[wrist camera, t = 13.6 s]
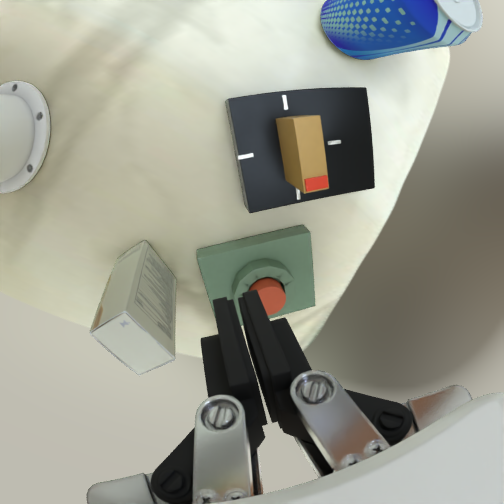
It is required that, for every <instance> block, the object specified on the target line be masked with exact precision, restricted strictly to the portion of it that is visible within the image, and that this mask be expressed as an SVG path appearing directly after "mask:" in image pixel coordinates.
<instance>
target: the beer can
mask: <svg viewBox="0 0 504 504" xmlns="http://www.w3.org/2000/svg"><path fill="white" fill-rule="evenodd" d="M482 20H483V17H482V11H481V7H480V4H479V1H478V0H327V1H326V2H325V3H324V5H323V7H322V9H321V24H322V27H323V29H324V32H325V34H326V35H327V37H328V38H329V40H330V41H331V42H332V43H333V44H334V45H335V46H336V47H337V48H338V49H339V50H340V51H342V52H343V53H345V54H347V55H349V56H351V57H353V58H356V59H361V60H370V59H375V58H379V57H384V56H388V55H393V54H399V53H404V52H410V51H416V50H422V49H429V48H437V47H446V46H455V45H459V44H462V43H463V42H464V41H466V39H467V38H468V37H469V36H470V34H471V33H472V32H477V31H478V30H480V28H481V26H482Z"/></svg>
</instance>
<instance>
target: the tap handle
mask: <svg viewBox="0 0 504 504" xmlns="http://www.w3.org/2000/svg"><path fill="white" fill-rule="evenodd" d="M276 124H277V130H278V136H279V141H280V147H281V154H282V160H283V166H284V172H285V179H286V181H287V182H289V183H290V184H291V185H293V186H294V187H296V188H297V189H299V190H300V191H301V192H303V193H304V194H305V193H310V192H315V191H319V190H324V189H329V184H328V174H327V165H326V156H325V148H324V140H323V133H322V126H321V119H320V115H302V116H291V117H283V118H277V119H276Z"/></svg>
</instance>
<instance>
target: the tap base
mask: <svg viewBox="0 0 504 504" xmlns="http://www.w3.org/2000/svg"><path fill="white" fill-rule="evenodd" d="M225 103H226V108H227V113H228V118H229V124H230V129H231V134H232V139H233V145H234V150H235V155H236V160H237V166H238V171H239V176H240V181H241V187H242V192H243V197H244V202H245V206H246V208H247V210H248V212H249V213H253V212H258V211H262V210H267V209H271V208H276V207H281V206H285V205H290V204H295V203H300V202H305V201H309V200H314V199H319V198H324V197H329V196H335V195H340V194H345V193H350V192H356V191H361V190H366V189H372V188H375V183H374V161H373V146H372V133H371V123H370V114H369V105H368V97H367V90H366V88H361V87H350V88H318V89H302V90H291V91H280V92H271V93H263V94H256V95H249V96H243V97H236V98H231V99H228V100H226V101H225ZM302 115H320V119H321V126H322V133H323V140H324V148H325V156H326V165H327V174H328V184H329V189H324V190H319V191H315V192H310V193H305V194H304V193H303V192H301V191H300V190H299V189H297V188H296V187H294V186H293V185H291V184H290V183H289V182H287V181H286V179H285V172H284V166H283V160H282V154H281V147H280V141H279V136H278V130H277V124H276V119H277V118H283V117H291V116H302Z"/></svg>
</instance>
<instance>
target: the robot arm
mask: <svg viewBox="0 0 504 504" xmlns="http://www.w3.org/2000/svg"><path fill="white" fill-rule="evenodd" d="M42 115H43V117H42ZM49 138H50V116H49V110H48V107H47V103H46V101H45V99H44V97H43V95H42V93H41V92H40V91H39V90H38V89H37V88H36V87H35V86H33V85H32V84H30V83H27V82H23V81H11V82H7V83H5V84H2V85H0V193H11V192H13V191H16V190H18V189H20V188H22V187H23V186H25V185H26V184H27V183H28V182H30V181H31V180H32V178H33V177H34V176H35V175H36V174H37V172H38V170H39V168H40V167H41V165H42V163H43V160H44V158H45V156H46V152H47V148H48V145H49ZM32 167H33V168H32ZM242 296H243V297H239V298H238V303H239V307H240V312H241V317H242V321H243V326H244V330H245V334H246V339H247V343H248V348H249V351H250V355H251V358H252V361H253V365H254V368H255V371H256V374H257V377H258V380H259V384H260V387H261V390H262V393H263V396H264V399H265V402H266V406H267V409H268V412H269V415H270V418H271V421H272V422H273V423H274V422H277V421H278V424H279V426H280V428H282V430H283V432H284V433H286V434H289V435H291V436H294V438H295V440H296V442H297V444H298V445H299V447H300V449H301V450H302V452H303V453H304V455H305V457H306V458H307V460H308V461H309V463H310V465H311V466H312V468H313V469H314V471H315V473H316V474H317V476H318V477H319V478H318V479H315V480H312V481H309V482H306V483H303V484H299V485H296V486H293V487H289V488H286V489H282V490H278V491H275V492H270V493H266V494H263V488H262V478H261V468H260V459H259V449H258V447H259V446H260V444H261V443H262V441H263V440H264V438H265V435H264V432H263V428H262V426H263V425H266V424H267V420H266V416H265V411H264V407H263V403H262V399H261V395H260V391H259V386H258V382H257V378H256V375H255V372H254V368H253V365H252V362H251V358H250V355H249V352H248V348H247V345H246V342H245V338H244V335H243V332H242V328H241V325H240V321H239V318H238V314H237V311H236V307H235V304H234V300H233V299H231V300H227V297H222V298H218V299H214V300H212V301H213V306H214V312H215V317H216V323H217V328H218V333H219V334H218V335H213V336H209V337H204V338H201V348H202V356H203V363H204V371H205V377H206V385H207V391H208V399H206V400H205V401H203V402H202V403H201V404H200V406H199V407H198V409H197V412H196V417H195V428H194V429H193V430H192V431H191V432H190V433H189V434H188V435H187V436H186V438H185V439H184V440H183V441H182V442H181V443H180V444H179V445H178V446H177V447H176V449H175V450H174V451H173V452H172V453H171V454H170V455H169V456H168V457H167V458H166V459H165V460H164V461H163V462H162V463H161V464H160V465H159V466H158V467H157V469H156V470H155V471H154V472H153V473H150V474H144V473H141V474H138V475H134V476H129V477H125V478H121V479H116V480H111V481H106V482H100V483H96V484H94V485H92V486H91V487H90V488H89V489H88V492H87V503H88V504H504V393H501V392H499V393H491V394H487V395H483V396H481V397H478V398H475V399H472V397H471V395H470V393H469V392H468V390H467V389H466V388H464V387H462V386H459V385H453V386H449V387H446V388H443V389H441V390H437V391H434V392H432V393H428V394H425V395H422V396H419V397H416V398H412V399H409V400H408V401H407V402H406V403H402V404H400V403H397V402H393V401H389V400H384V399H380V398H376V397H372V396H368V395H365V394H361V393H357V392H353V391H350V390H346V389H343V387H342V386H341V385H340V384H339V383H338V381H337V380H336V379H335V378H334V377H333V376H332V375H331V374H329V373H327V372H325V371H320V370H312V369H311V367H310V366H309V363H308V361H307V359H306V357H305V355H304V353H303V351H302V349H301V347H300V345H299V343H298V341H297V339H296V337H295V335H294V333H293V331H292V329H291V327H290V325H289V323H288V321H287V319H286V318H281V319H277V320H274V321H270V320H269V318H268V315H267V313H266V310H265V308H264V306H263V303H262V301H261V299H260V296H259V294H258V291H257V290H256V289H255V290H251V291H247V292H243V293H242Z"/></svg>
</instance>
